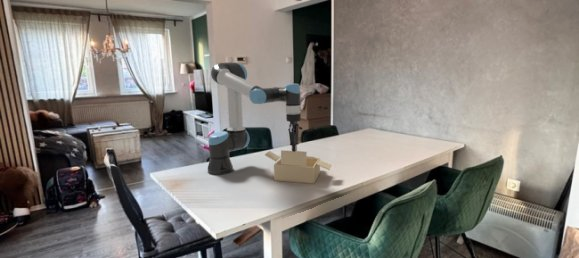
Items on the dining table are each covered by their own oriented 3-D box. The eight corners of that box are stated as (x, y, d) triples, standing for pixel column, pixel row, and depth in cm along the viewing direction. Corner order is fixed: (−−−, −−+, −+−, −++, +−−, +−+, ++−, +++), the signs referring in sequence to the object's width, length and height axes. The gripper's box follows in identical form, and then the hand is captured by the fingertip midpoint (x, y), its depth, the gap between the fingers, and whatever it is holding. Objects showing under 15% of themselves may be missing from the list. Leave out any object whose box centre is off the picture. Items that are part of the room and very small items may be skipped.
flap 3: (293, 156, 194) (293, 157, 194) (290, 155, 187) (290, 156, 187) (315, 157, 190) (315, 158, 190) (313, 156, 183) (313, 157, 183)
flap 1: (276, 160, 175) (275, 161, 175) (280, 157, 182) (280, 157, 183) (264, 154, 176) (264, 154, 176) (269, 150, 184) (269, 151, 184)
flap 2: (280, 164, 169) (280, 164, 169) (281, 150, 169) (281, 150, 169) (306, 165, 165) (305, 166, 165) (306, 151, 165) (306, 151, 165)
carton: (274, 180, 172) (273, 164, 170) (284, 170, 189) (283, 156, 187) (313, 183, 166) (313, 167, 164) (320, 173, 183) (320, 158, 181)
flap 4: (329, 169, 167) (329, 170, 167) (331, 165, 175) (331, 165, 175) (316, 163, 169) (316, 164, 169) (319, 159, 176) (319, 160, 176)
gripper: (297, 115, 157) (298, 160, 161) (303, 111, 169) (304, 154, 173) (283, 115, 159) (284, 159, 163) (289, 111, 171) (291, 153, 175)
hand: (294, 156), depth 168 cm, fingers closed
